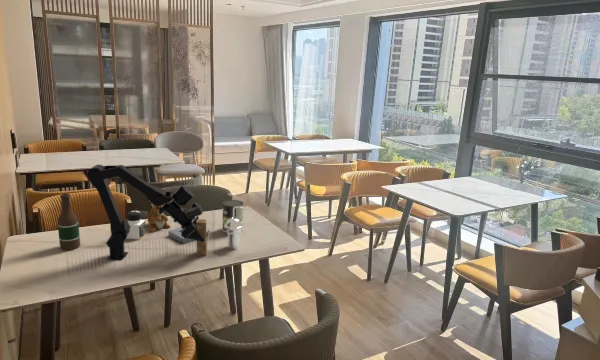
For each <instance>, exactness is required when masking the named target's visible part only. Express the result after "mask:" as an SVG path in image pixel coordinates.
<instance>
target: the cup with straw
mask: <svg viewBox="0 0 600 360" xmlns="http://www.w3.org/2000/svg"><path fill="white" fill-rule="evenodd" d="M242 207H243V208H246V205H243V206H236V207H233V218H230V219H228V221H227V222H226V224H225V225H224V228H225V229H226V232H227V233H226V232H225V233H226V234H227V235H226V237H227V245H228V249H230V250H232V249H233V250H234V249H239V248H240V246H239V245H240V240H241V233H242V232H241V229H242V228H243V229H244V225H243V224H244V223H243V224H242V223H241V221H240V220H239V219H238V218H235V217H234V209H235V208H242Z"/></svg>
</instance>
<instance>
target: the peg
mask: <svg viewBox="0 0 600 360" xmlns="http://www.w3.org/2000/svg"><path fill="white" fill-rule="evenodd" d="M196 226H197V231H198V232H199V233H200V235H201V236H202V237H203V238H204V239H205V241H204V242H202V241H198V240H196V257H198V256H202V257H204V256H207V253H208V252H207V250H208V249H207V246H208V245H207V243H208V242H207V241H208V240H207V239H208V237H207V234H206V231H207V218H206V219H204V218H203V219H200V218H199V219H198V220H197V221H196Z"/></svg>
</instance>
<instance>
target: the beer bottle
mask: <svg viewBox="0 0 600 360" xmlns="http://www.w3.org/2000/svg"><path fill="white" fill-rule="evenodd" d="M59 198H60V201H61V202H60V203H61V212H60V214H59V216H58V219H57V231H58V239H59V247H60V249H61V250H62V251H74V250H77V249H79V248H80V246H81V238H80V235H81V234H80V225H79V224H80V223H79V219H78V216H77V215H76V213H74V211H73V209H72V203H71V202H72V201H71V195H70V193H62V194H60V197H59Z"/></svg>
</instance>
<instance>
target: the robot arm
mask: <svg viewBox="0 0 600 360" xmlns="http://www.w3.org/2000/svg"><path fill="white" fill-rule="evenodd" d="M86 176H87V179H88V181H89V182H90V184H91V185H92V186H93V187H94V188H95V190H97V192H98V195H99V198H100V200H101V202H102V205H103V207H104V210H105V212H106V216H107V217H108V220H109V223H110V234H111V235H109V237H108V239H107V241H106V243H105V244H106V245H107V247H108V248H109V255H108V256H107V257H106V260H116V261H117V260H121V261H122V260H124V259H125V258H126V256H127V255H128V254H129V252H127V251H125V240H127V239H126V238H127V236H128V234H129V232H130V227H131V226H130V225H129V224H128V219H127V218H125V219H124V218H123V217H122V216H121V213H120V210H119V209H118V206H117V203H116V201H115V198H114V196H113V193H112V190H111V188H110V186H109V185H110V184H109V179H112V178H120V179H121V180H123V181H124V182H126V183H127V184H129V185H130V186H131V187H133V188H134V189H136V190H138V191H139V192H140V193H142V194H143V195H144V196H145V197H146V199H147V200H148V201H149V202H150V203H151V204H154V205H155V206H159V214H161V213H162V212H163V211H164V212H165V213H166V214H167V215H169V217H170V218H172V220H173V223H177V224H178V225H180V228H182V232H181V236H182V237H184V238H190V239H194V240H195V241H197V240H198V241H202V242H204V241H205V239H204V238H203V237H202V236H201V235H200V233H199V232H198V231H197V226H196V221H197V220H198V219H200V218H199V216H201V215H202V214H203V211H204V210H203V208H202V205H200V204H199V203H197V202H194V203H192V204H191V207H190V208H188V209H187V208H185V207H184V208H183V207H182V206H186V205H187V204H188V203H189V202H191V200H192V199H193V198H194V197H195V194H194V193H193V192H192V190H191V189H190V188H188V187H185V186H184V185H180V186H179V188H178V189H177V190H176V191H175V192H174V191H166V190H165V189H162V188H161V187H158V186H156V185H152V184H151V183H148V182H147V181H146V180H144V179H142V177H139V176H138V175H137V174H135V173H134V172H132V171H131V170H130V169H128V168H127V167H125V165H123V164H118V165H117V164H116V165H115V164H113V165H111V164H110V165H102V164H95V165H94V166H92V167H91V168H89V170H88V171H87V172H86ZM161 205H163V206H161ZM164 212H163V213H164Z"/></svg>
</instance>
